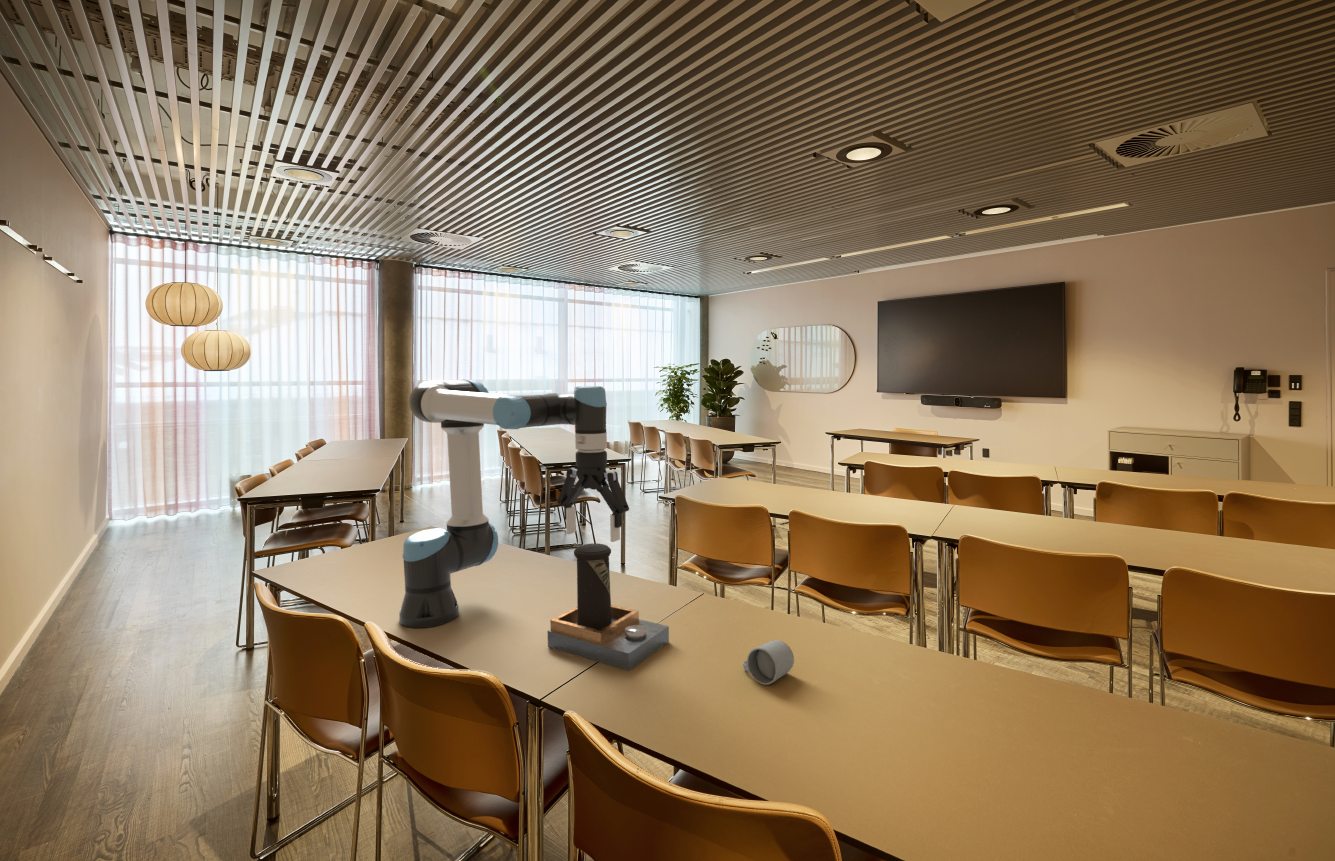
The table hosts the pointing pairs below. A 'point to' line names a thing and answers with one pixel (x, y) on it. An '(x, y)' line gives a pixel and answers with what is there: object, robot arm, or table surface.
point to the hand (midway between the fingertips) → (592, 536)
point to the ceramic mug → (769, 662)
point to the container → (593, 586)
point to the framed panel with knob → (609, 638)
